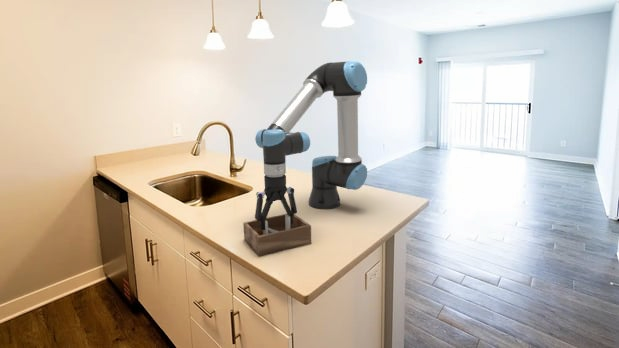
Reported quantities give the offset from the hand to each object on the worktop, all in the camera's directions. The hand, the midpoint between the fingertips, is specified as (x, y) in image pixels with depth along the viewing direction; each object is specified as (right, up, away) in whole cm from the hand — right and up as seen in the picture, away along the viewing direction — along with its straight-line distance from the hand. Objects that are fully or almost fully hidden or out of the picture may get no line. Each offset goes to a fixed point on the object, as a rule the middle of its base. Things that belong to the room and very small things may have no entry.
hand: (277, 234), depth 127 cm
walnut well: (0, -3, +1) cm, 3 cm away
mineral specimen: (0, -2, 0) cm, 2 cm away
